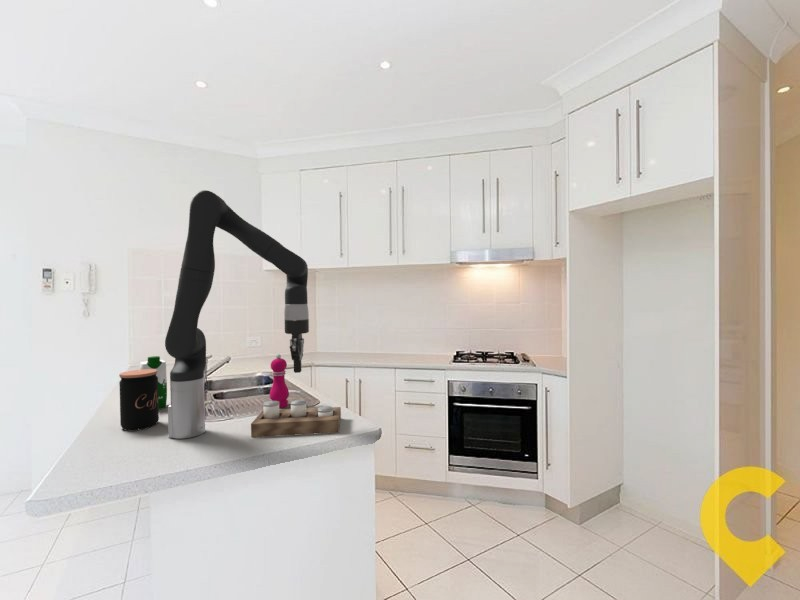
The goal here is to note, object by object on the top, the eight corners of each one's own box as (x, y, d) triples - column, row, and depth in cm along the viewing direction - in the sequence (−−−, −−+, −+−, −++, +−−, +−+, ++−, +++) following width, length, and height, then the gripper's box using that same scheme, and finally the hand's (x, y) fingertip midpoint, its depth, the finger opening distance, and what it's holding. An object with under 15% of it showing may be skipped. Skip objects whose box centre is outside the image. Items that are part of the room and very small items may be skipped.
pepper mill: (283, 409, 148) (282, 355, 148) (266, 408, 150) (264, 355, 150) (292, 403, 155) (291, 353, 155) (275, 403, 157) (274, 352, 157)
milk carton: (142, 412, 147) (140, 359, 147) (139, 407, 154) (137, 356, 154) (169, 407, 153) (167, 356, 153) (165, 403, 160) (163, 354, 160)
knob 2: (317, 426, 125) (316, 410, 125) (318, 421, 130) (318, 406, 130) (332, 425, 125) (332, 410, 125) (333, 421, 130) (333, 406, 130)
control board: (251, 437, 119) (250, 423, 119) (262, 422, 133) (262, 410, 132) (338, 432, 121) (338, 419, 121) (340, 418, 135) (340, 406, 135)
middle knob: (289, 419, 124) (289, 403, 124) (292, 415, 129) (291, 399, 129) (305, 419, 125) (305, 403, 125) (307, 414, 129) (307, 399, 129)
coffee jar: (136, 432, 125) (135, 375, 125) (112, 429, 128) (111, 374, 128) (166, 422, 135) (165, 369, 135) (143, 419, 138) (142, 368, 138)
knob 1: (261, 421, 123) (261, 405, 123) (265, 416, 128) (265, 401, 128) (277, 420, 124) (277, 404, 124) (281, 415, 129) (280, 400, 129)
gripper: (288, 317, 133) (289, 368, 133) (280, 319, 120) (281, 376, 120) (311, 317, 134) (312, 368, 134) (305, 319, 120) (306, 375, 120)
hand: (297, 372), depth 127 cm, fingers closed
